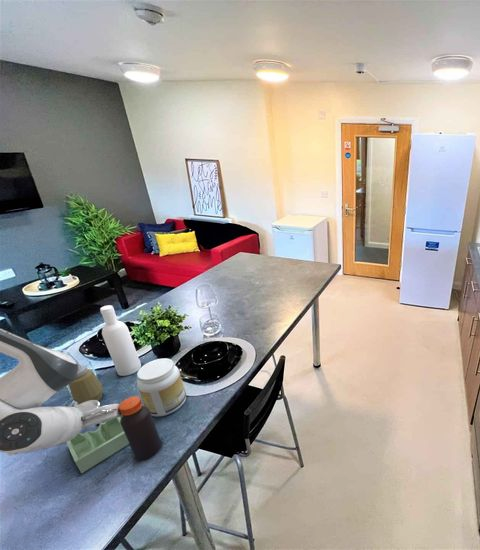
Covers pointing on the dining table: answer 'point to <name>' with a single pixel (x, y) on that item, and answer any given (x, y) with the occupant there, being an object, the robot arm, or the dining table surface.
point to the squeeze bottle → (85, 386)
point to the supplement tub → (161, 387)
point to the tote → (93, 457)
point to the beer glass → (94, 427)
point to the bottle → (119, 343)
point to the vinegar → (139, 428)
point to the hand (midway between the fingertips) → (83, 423)
